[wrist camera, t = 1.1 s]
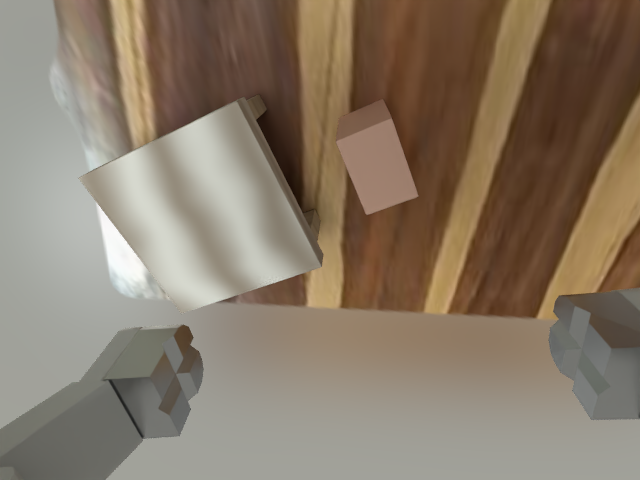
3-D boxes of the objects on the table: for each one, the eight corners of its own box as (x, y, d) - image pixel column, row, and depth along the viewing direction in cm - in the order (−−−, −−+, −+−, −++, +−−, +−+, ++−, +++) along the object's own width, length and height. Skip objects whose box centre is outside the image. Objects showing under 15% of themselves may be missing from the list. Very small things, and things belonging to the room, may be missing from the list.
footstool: (261, 85, 32) (236, 101, 25) (327, 223, 38) (321, 267, 31) (131, 149, 35) (78, 177, 29) (210, 265, 41) (181, 313, 34)
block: (382, 98, 32) (391, 117, 25) (404, 162, 34) (418, 196, 27) (338, 117, 33) (335, 141, 26) (363, 178, 35) (366, 215, 28)
